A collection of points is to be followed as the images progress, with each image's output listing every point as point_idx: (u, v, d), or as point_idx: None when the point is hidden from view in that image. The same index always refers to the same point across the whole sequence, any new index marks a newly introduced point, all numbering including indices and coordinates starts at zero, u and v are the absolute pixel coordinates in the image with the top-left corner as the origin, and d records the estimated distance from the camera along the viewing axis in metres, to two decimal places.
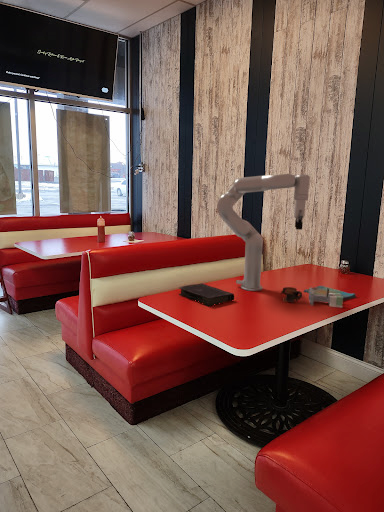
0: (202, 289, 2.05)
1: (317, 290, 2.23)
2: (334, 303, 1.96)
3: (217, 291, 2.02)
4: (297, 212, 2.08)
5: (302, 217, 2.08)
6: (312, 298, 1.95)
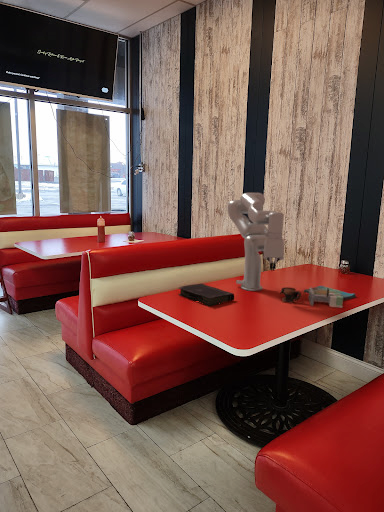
0: (202, 289, 2.05)
1: (317, 290, 2.23)
2: (334, 303, 1.96)
3: (217, 291, 2.02)
4: (283, 251, 1.99)
5: None
6: (312, 298, 1.95)
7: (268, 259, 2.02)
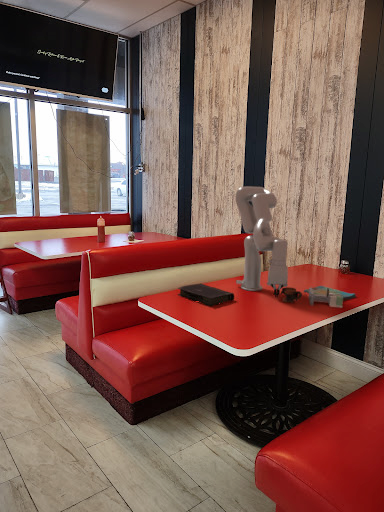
0: (202, 289, 2.05)
1: (317, 290, 2.23)
2: (334, 303, 1.96)
3: (217, 291, 2.03)
4: (287, 278, 2.01)
5: None
6: (312, 298, 1.95)
7: (272, 285, 2.04)
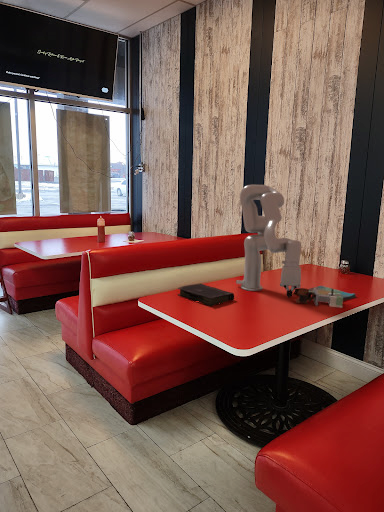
0: (202, 289, 2.05)
1: (317, 290, 2.23)
2: (334, 303, 1.96)
3: (217, 291, 2.03)
4: (300, 280, 2.00)
5: None
6: (317, 298, 1.95)
7: (285, 287, 2.03)
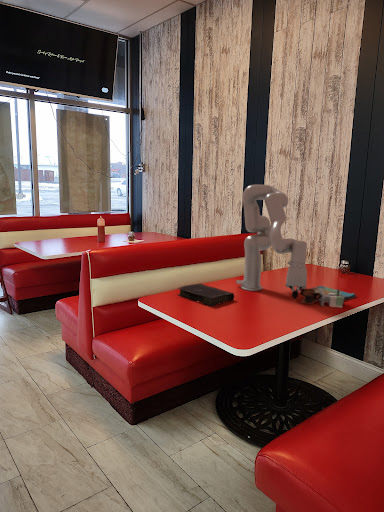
0: (201, 289, 2.05)
1: (317, 290, 2.23)
2: (334, 303, 1.96)
3: (217, 291, 2.03)
4: (306, 280, 1.99)
5: None
6: (322, 299, 1.94)
7: (290, 287, 2.02)
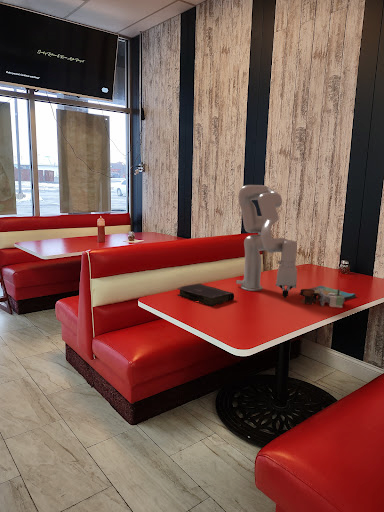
0: (201, 289, 2.05)
1: (317, 290, 2.23)
2: (334, 303, 1.96)
3: (217, 291, 2.03)
4: (296, 280, 2.00)
5: None
6: (323, 299, 1.94)
7: (281, 287, 2.03)
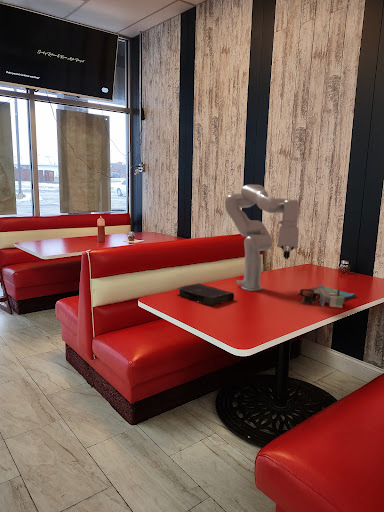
0: (201, 289, 2.05)
1: (317, 290, 2.23)
2: (334, 303, 1.96)
3: (217, 291, 2.03)
4: None
5: None
6: (323, 299, 1.94)
7: (282, 247, 2.00)
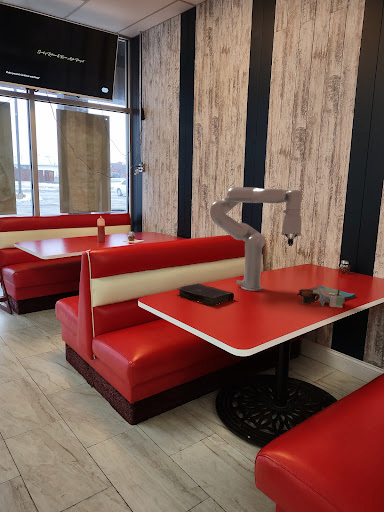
0: (201, 289, 2.05)
1: (317, 290, 2.23)
2: (334, 303, 1.96)
3: (217, 291, 2.03)
4: None
5: None
6: (323, 299, 1.94)
7: (286, 235, 2.12)
